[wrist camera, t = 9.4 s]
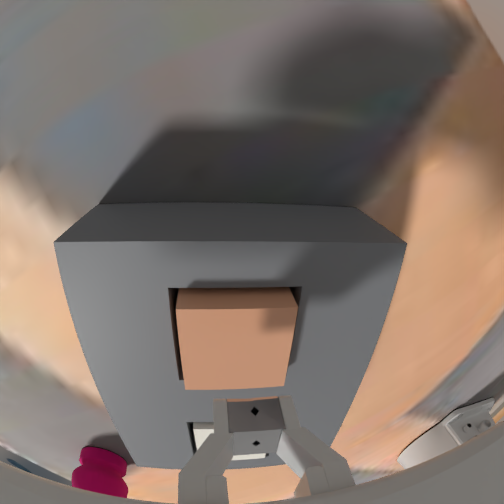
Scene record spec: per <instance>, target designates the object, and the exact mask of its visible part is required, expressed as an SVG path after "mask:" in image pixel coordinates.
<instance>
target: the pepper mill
mask: <svg viewBox="0 0 504 504" xmlns="http://www.w3.org/2000/svg"><path fill="white" fill-rule="evenodd" d="M79 461H80V463H81V464H82V465H81V466H79V467H77V468H76V469H75V470H74V471H73V473H72V487H75V488H79V489H83V490H87V491H92V492H96V493H101V494H106V495H111V496H116V497H122V498H127V494H128V487H127V485H126V483H125V481H124V480H123V479H122V477H124V476H125V475H126V469H127V463H126V461H125V460H124V459H123V458H122V457H120V456H119V455H117V454H115V453H113V452H111V451H108V450H105V449H101V448H96V447H85V448H83V449H82V450H81V454H80V459H79Z"/></svg>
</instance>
